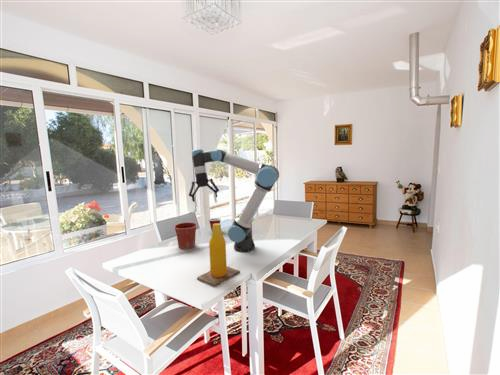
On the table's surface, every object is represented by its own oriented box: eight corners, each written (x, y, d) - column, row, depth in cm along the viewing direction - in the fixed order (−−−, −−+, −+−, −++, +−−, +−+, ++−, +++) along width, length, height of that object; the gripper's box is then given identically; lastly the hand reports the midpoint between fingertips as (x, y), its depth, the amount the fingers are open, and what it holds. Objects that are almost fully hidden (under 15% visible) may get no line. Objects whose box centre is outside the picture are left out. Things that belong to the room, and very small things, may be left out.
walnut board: (222, 266, 161) (222, 264, 161) (239, 272, 153) (239, 270, 153) (197, 279, 146) (196, 277, 146) (214, 287, 137) (214, 284, 137)
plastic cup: (222, 230, 236) (221, 217, 234) (221, 234, 225) (220, 220, 223) (209, 230, 235) (209, 217, 234) (208, 234, 225) (207, 220, 223)
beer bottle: (218, 268, 156) (216, 221, 152) (230, 273, 150) (228, 223, 146) (207, 274, 149) (204, 224, 145) (218, 279, 143) (216, 227, 139)
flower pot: (192, 250, 188) (191, 229, 186) (171, 249, 192) (169, 228, 189) (201, 242, 204) (200, 222, 202) (181, 242, 208) (180, 222, 205)
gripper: (217, 170, 184) (222, 200, 185) (181, 176, 175) (186, 207, 176) (220, 169, 177) (225, 201, 178) (182, 175, 168) (188, 208, 169)
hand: (206, 204), depth 177 cm, fingers open, 13 cm apart
